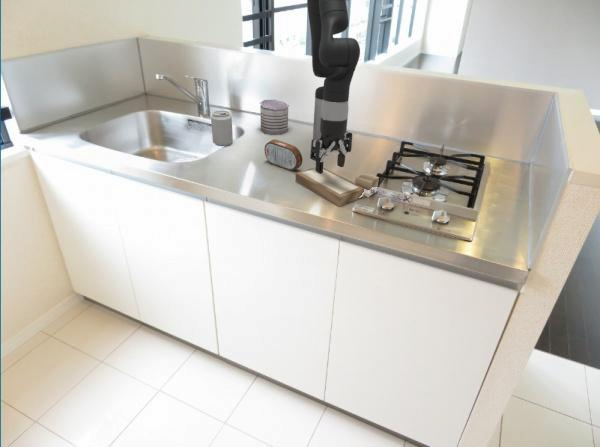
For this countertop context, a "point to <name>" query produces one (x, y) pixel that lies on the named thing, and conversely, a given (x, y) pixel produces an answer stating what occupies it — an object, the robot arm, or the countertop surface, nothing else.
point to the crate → (367, 181)
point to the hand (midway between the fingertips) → (330, 169)
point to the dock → (330, 186)
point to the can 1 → (221, 128)
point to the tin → (283, 154)
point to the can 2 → (274, 117)
